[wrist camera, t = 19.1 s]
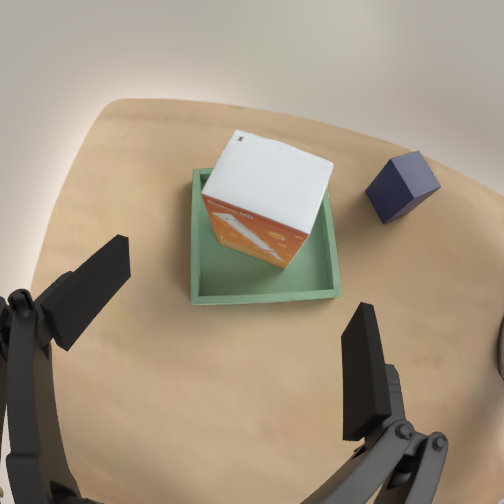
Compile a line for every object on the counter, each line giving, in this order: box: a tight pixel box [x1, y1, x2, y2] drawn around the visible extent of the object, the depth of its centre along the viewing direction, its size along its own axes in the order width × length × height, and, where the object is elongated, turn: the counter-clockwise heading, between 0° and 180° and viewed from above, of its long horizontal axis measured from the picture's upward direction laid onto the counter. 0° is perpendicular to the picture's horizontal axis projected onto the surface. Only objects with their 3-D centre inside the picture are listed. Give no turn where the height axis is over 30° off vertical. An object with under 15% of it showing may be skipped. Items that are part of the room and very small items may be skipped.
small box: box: [201, 129, 334, 269], centre depth 25 cm, size 8×6×13 cm
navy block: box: [365, 151, 441, 224], centre depth 29 cm, size 5×5×8 cm
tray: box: [190, 168, 341, 305], centre depth 31 cm, size 16×16×2 cm
